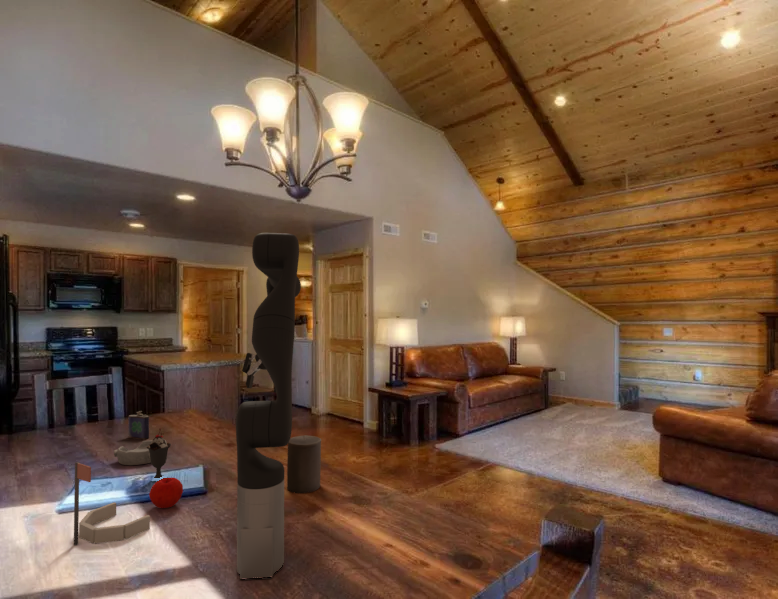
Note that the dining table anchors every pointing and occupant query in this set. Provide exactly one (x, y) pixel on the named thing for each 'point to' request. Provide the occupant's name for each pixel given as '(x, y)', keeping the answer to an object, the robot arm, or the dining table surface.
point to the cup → (101, 517)
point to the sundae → (158, 453)
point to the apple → (166, 492)
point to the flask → (138, 426)
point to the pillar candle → (303, 464)
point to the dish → (134, 454)
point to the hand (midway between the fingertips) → (262, 390)
